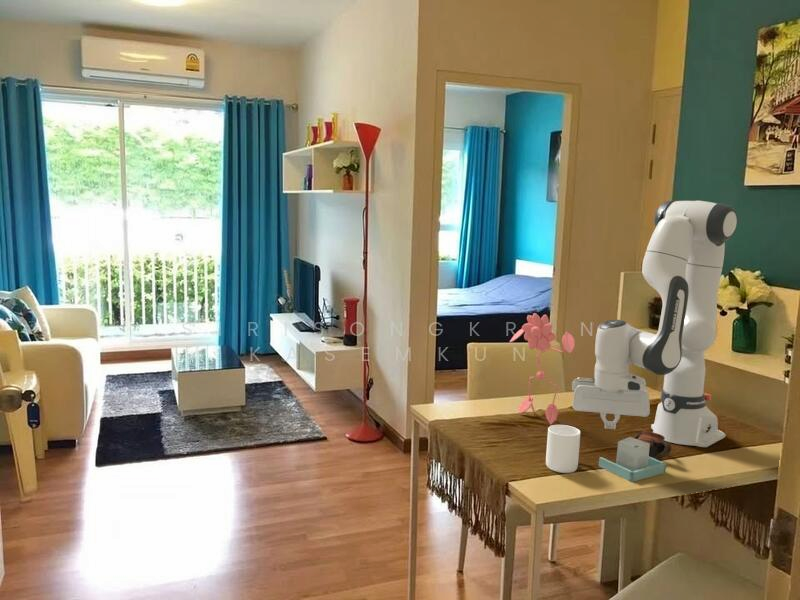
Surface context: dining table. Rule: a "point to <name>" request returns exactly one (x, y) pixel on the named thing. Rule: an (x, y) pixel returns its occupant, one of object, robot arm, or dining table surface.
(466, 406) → the dining table surface
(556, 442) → the mug
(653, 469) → the u-shaped bracket
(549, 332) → the pink flower stem
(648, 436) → the pottery mug
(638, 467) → the skincare box
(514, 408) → the dining table surface
